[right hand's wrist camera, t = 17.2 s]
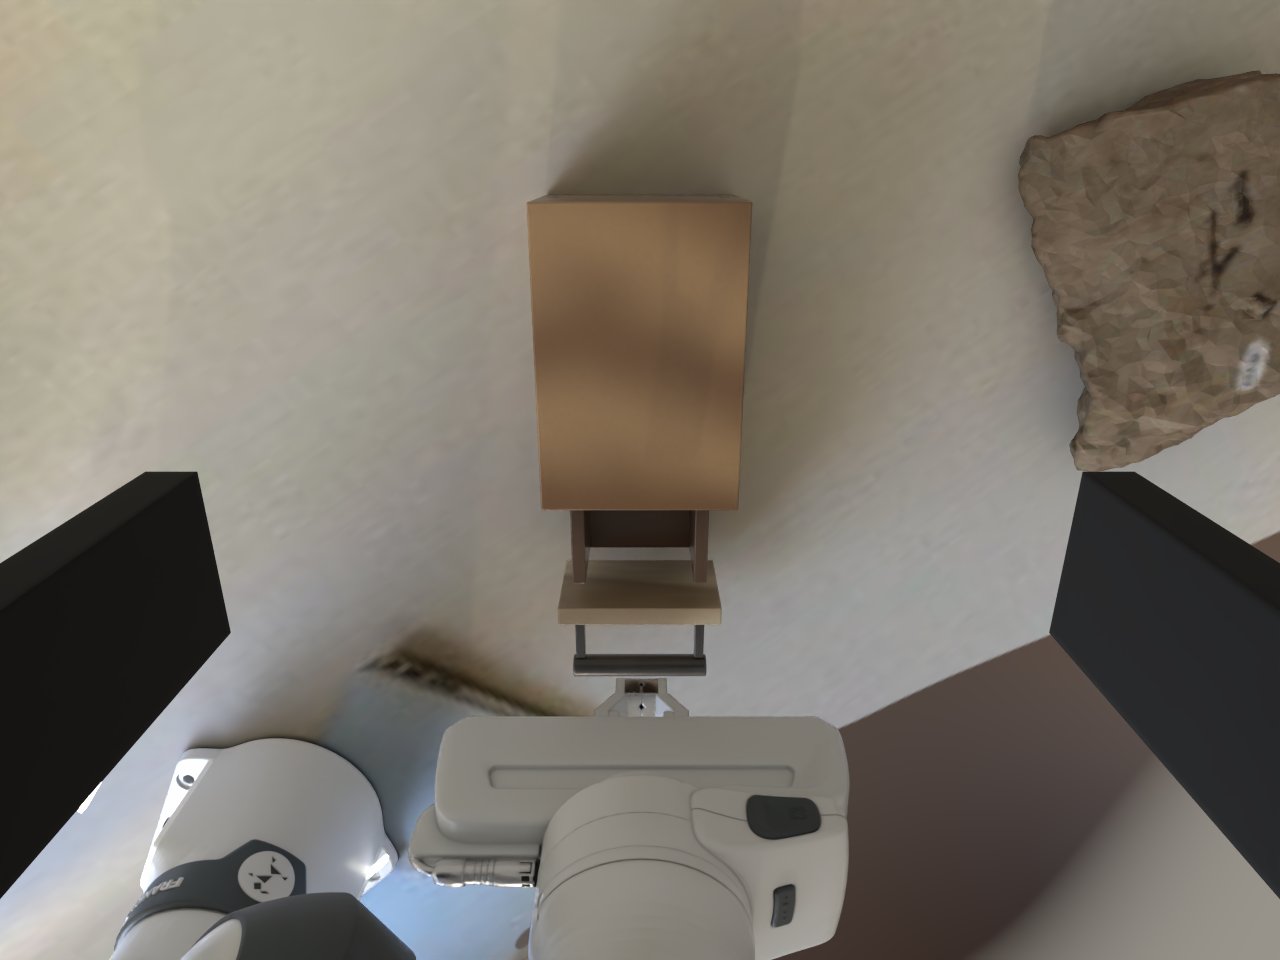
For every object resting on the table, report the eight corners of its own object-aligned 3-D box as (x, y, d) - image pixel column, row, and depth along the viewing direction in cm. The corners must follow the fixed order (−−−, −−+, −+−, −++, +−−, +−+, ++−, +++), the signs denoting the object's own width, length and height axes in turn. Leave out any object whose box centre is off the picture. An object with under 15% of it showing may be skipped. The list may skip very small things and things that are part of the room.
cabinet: (723, 459, 55) (738, 510, 47) (555, 459, 55) (541, 510, 47) (734, 194, 49) (752, 202, 41) (544, 194, 49) (526, 202, 41)
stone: (1332, 407, 50) (1388, 428, 45) (1068, 466, 55) (1089, 492, 50) (1273, 52, 46) (1327, 27, 41) (995, 151, 51) (1009, 141, 46)
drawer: (709, 646, 59) (717, 702, 53) (569, 646, 59) (561, 702, 53) (720, 356, 52) (730, 382, 46) (559, 356, 52) (548, 382, 46)
